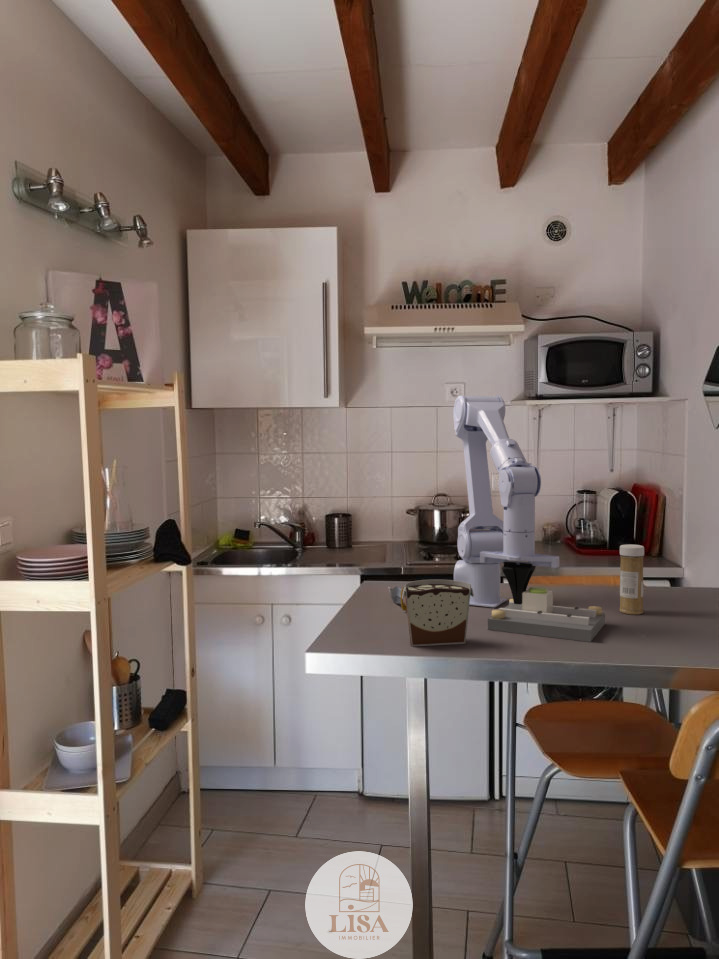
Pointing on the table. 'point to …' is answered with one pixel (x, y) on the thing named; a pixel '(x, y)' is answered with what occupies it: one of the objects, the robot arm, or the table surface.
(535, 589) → the block
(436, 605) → the food container
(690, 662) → the table surface
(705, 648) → the table surface
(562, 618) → the levelling base
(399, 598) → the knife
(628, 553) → the sprinkles bottle
